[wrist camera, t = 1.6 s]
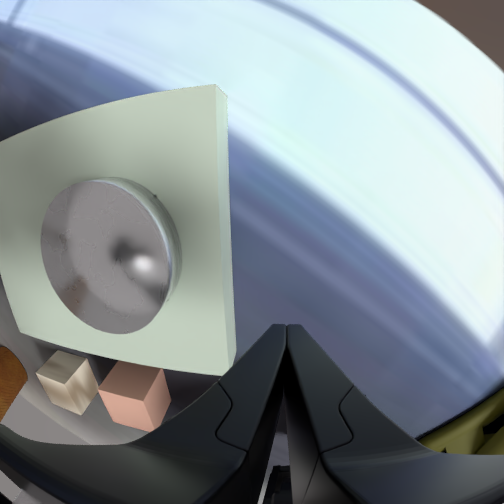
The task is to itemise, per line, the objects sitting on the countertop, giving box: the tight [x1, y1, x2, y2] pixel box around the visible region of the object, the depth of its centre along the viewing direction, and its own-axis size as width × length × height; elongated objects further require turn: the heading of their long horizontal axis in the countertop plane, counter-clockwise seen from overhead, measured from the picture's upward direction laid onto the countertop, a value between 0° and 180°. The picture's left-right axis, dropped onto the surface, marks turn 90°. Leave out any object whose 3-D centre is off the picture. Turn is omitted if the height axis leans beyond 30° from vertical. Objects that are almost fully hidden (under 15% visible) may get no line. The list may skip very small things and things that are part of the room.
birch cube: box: [36, 350, 99, 415], centre depth 23 cm, size 4×4×4 cm
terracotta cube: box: [98, 360, 171, 432], centre depth 22 cm, size 4×4×4 cm
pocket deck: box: [0, 84, 236, 376], centre depth 18 cm, size 18×22×3 cm
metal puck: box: [41, 177, 182, 334], centre depth 15 cm, size 9×9×2 cm
